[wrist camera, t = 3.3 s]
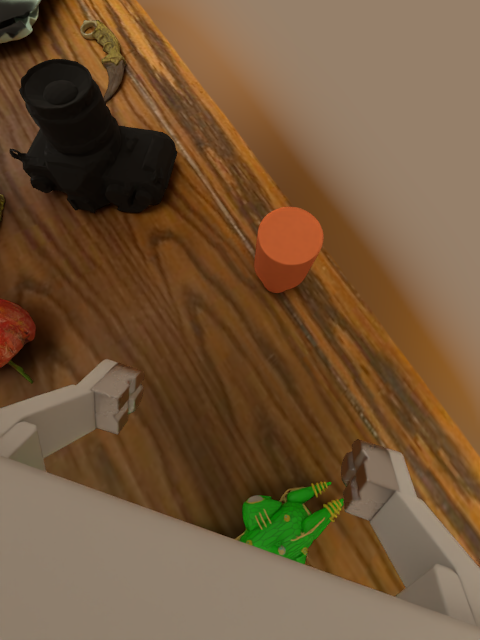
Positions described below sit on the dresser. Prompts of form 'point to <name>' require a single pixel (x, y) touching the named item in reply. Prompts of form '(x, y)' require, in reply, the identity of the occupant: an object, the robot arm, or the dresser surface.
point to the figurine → (1, 205)
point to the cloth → (17, 18)
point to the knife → (114, 59)
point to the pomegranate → (14, 333)
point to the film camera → (90, 144)
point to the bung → (286, 248)
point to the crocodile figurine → (287, 521)
